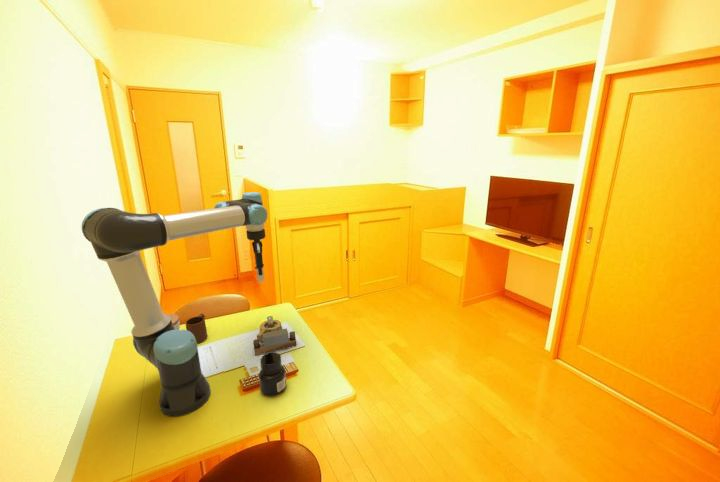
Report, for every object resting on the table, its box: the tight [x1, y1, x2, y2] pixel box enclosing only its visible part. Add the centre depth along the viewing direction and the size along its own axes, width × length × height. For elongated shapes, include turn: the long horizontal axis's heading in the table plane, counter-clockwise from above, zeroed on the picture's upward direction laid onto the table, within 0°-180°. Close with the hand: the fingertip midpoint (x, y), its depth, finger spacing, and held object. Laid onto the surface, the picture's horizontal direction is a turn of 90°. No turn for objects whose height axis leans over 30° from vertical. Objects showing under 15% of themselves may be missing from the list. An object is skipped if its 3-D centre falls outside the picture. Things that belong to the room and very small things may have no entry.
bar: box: [262, 328, 290, 348], centre depth 135 cm, size 10×4×4 cm, turn 112°
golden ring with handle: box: [256, 319, 283, 343], centre depth 145 cm, size 9×16×3 cm, turn 169°
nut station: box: [266, 315, 283, 330], centre depth 148 cm, size 10×10×7 cm
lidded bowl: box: [165, 313, 181, 330], centre depth 142 cm, size 13×13×11 cm
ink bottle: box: [258, 351, 287, 397], centre depth 112 cm, size 10×9×12 cm
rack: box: [252, 330, 297, 356], centre depth 135 cm, size 4×17×6 cm, turn 112°
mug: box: [185, 313, 208, 344], centre depth 144 cm, size 12×8×9 cm, turn 3°
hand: (261, 281), depth 143 cm, fingers closed
